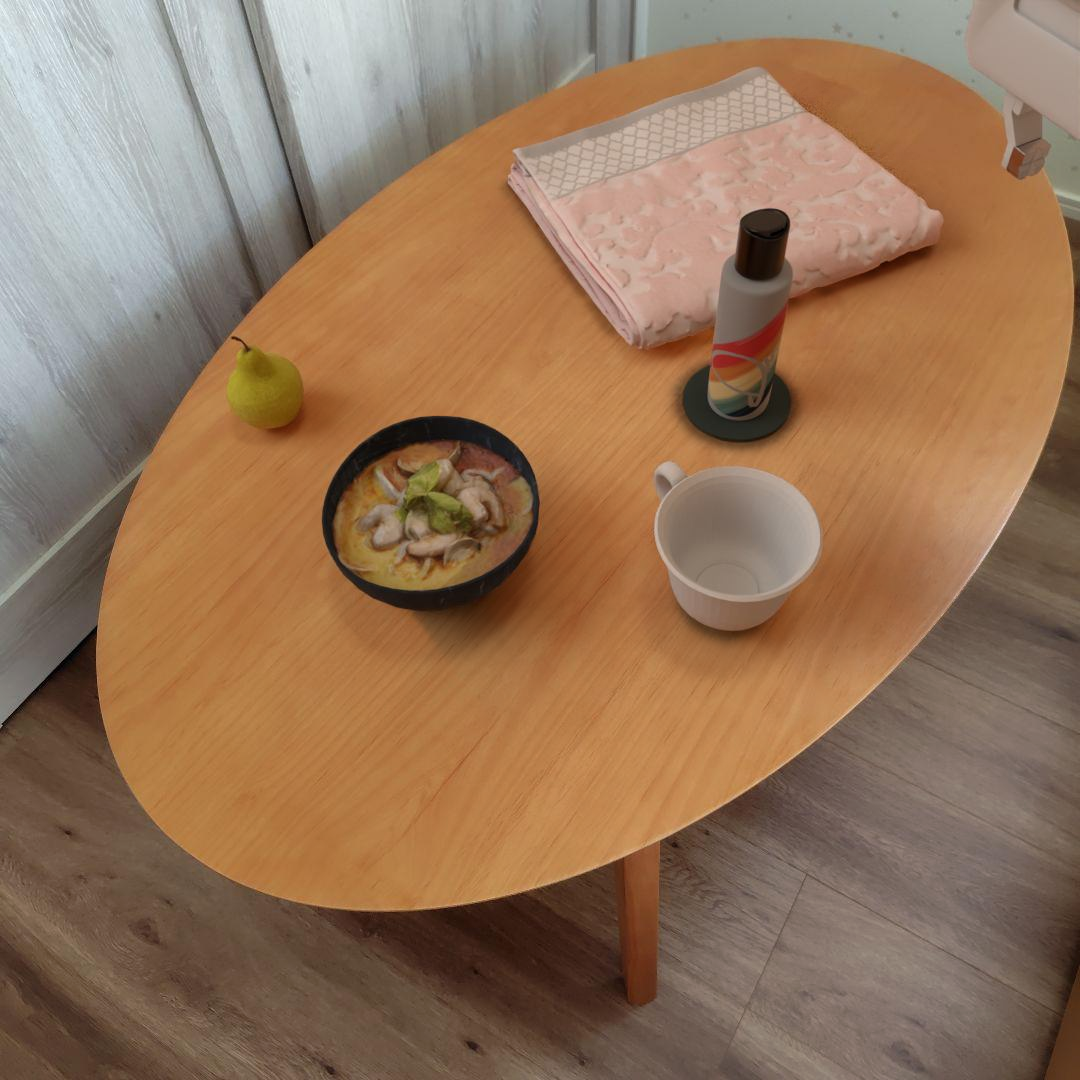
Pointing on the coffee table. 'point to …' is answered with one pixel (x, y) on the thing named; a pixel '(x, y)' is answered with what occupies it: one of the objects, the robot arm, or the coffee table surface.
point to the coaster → (731, 429)
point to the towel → (710, 202)
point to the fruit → (264, 388)
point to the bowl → (431, 513)
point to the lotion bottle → (750, 316)
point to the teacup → (733, 542)
